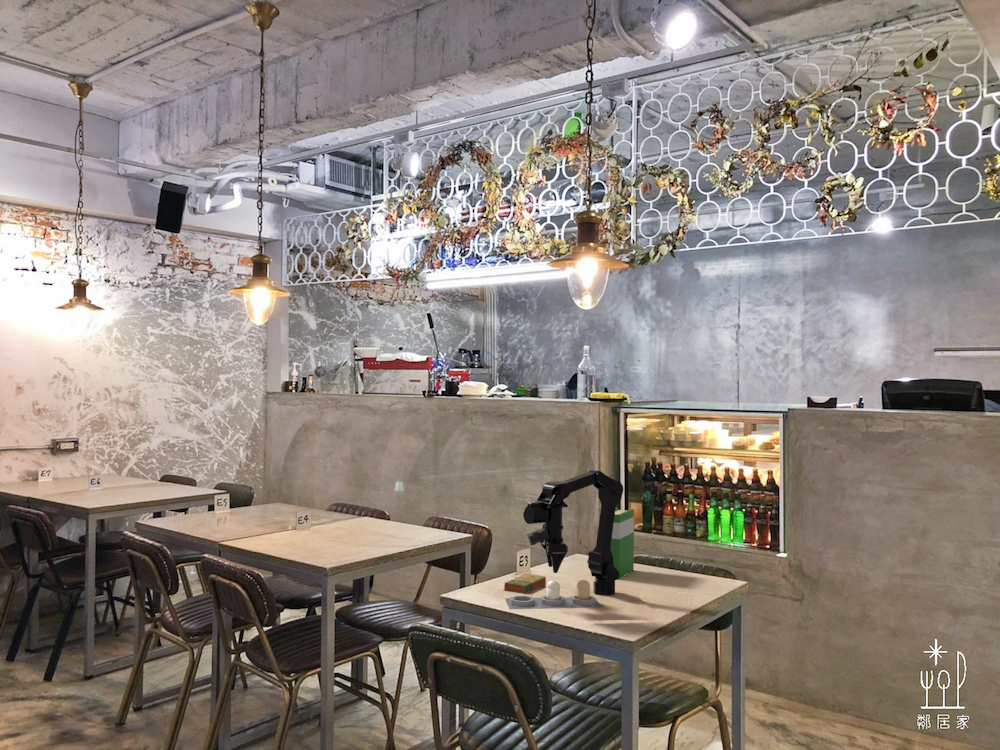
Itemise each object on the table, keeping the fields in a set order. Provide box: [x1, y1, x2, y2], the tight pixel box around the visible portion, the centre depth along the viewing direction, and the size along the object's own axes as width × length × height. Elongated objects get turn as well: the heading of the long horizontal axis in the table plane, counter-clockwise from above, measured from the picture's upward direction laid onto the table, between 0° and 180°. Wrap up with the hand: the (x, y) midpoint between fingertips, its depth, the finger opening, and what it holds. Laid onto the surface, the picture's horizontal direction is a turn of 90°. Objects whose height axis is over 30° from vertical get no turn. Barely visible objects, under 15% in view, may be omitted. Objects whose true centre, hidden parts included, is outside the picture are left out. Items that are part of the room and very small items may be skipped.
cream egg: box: [545, 579, 561, 600], centre depth 253 cm, size 4×4×7 cm
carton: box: [503, 573, 547, 595], centre depth 274 cm, size 8×16×4 cm, turn 150°
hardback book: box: [611, 507, 635, 580], centre depth 301 cm, size 18×7×24 cm, turn 153°
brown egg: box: [575, 579, 591, 600], centre depth 254 cm, size 4×4×7 cm
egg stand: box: [504, 594, 603, 610], centre depth 253 cm, size 30×13×2 cm, turn 96°
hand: (552, 569), depth 254 cm, fingers open, 9 cm apart
